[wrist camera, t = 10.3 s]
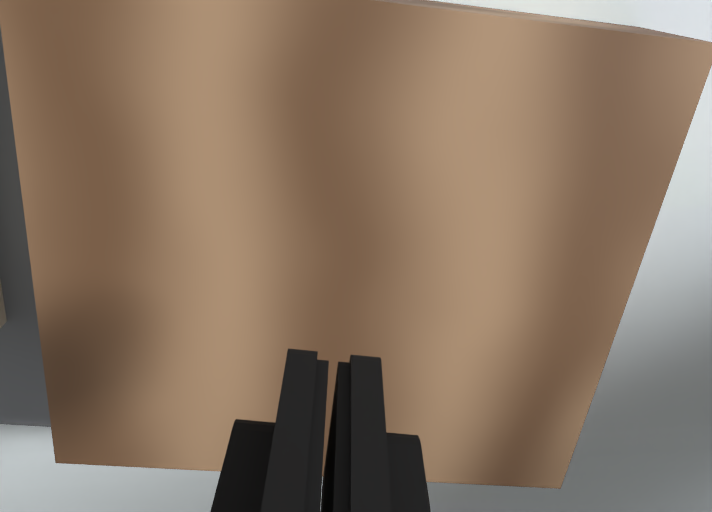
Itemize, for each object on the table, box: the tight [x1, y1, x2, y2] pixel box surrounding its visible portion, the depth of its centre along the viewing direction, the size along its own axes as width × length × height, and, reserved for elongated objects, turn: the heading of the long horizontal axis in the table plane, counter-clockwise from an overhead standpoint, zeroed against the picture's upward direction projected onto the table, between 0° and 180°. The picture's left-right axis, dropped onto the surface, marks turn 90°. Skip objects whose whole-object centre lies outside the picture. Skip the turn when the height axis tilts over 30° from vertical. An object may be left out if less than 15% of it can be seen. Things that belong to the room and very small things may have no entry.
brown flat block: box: [0, 0, 712, 489], centre depth 18 cm, size 16×14×4 cm
